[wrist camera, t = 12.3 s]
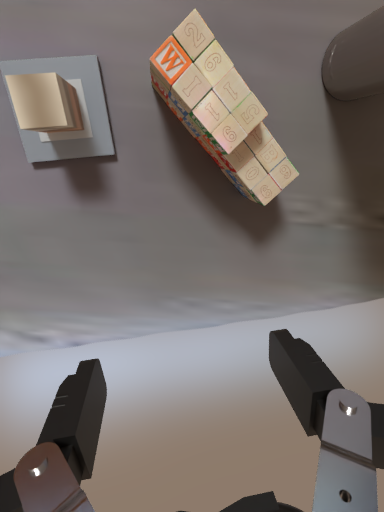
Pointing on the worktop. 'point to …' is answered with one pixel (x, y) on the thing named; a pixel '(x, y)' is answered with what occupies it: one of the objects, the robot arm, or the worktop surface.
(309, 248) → the worktop surface
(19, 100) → the cream and brown block
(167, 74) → the stack of blocks
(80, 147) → the base plate
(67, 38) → the worktop surface
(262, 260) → the worktop surface
